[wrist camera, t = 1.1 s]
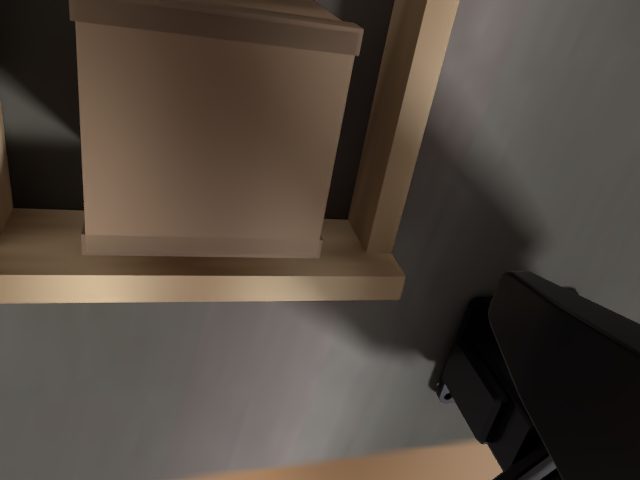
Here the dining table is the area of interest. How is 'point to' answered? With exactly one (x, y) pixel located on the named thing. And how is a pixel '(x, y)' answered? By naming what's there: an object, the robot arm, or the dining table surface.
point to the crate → (209, 124)
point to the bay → (247, 272)
